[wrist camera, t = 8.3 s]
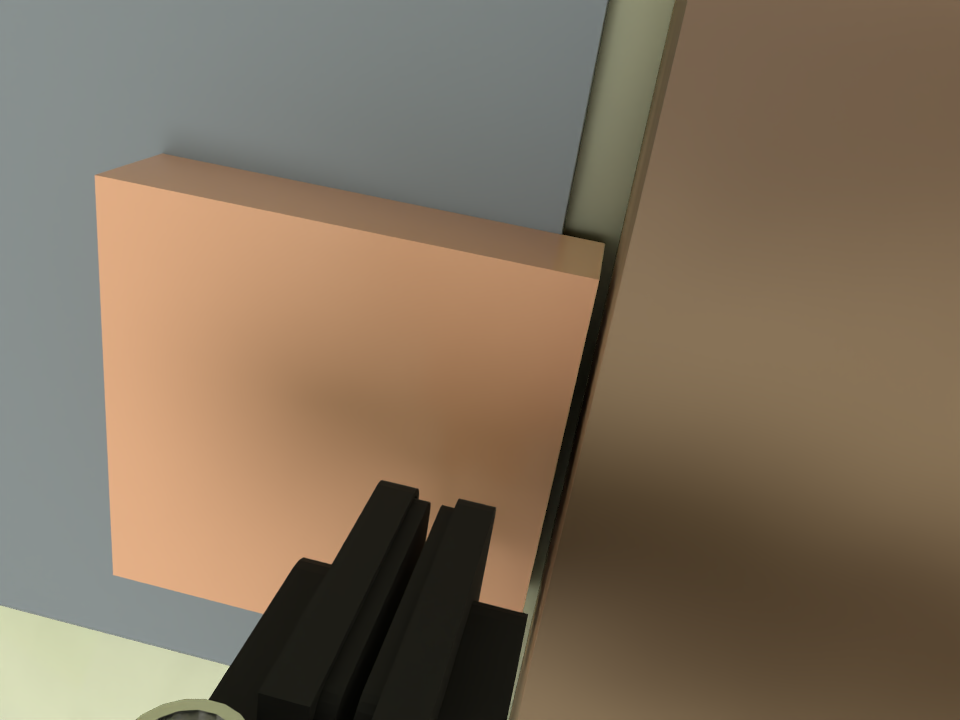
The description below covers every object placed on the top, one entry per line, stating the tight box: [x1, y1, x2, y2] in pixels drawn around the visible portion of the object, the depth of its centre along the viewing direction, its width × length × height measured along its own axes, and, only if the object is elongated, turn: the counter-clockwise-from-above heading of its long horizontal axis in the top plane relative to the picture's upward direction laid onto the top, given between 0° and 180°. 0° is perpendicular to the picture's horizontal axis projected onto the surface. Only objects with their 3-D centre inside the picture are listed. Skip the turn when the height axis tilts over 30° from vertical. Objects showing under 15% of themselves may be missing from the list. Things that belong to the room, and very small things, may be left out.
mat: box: [0, 0, 609, 666], centre depth 16 cm, size 16×14×1 cm
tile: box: [95, 153, 605, 614], centre depth 15 cm, size 8×8×2 cm
